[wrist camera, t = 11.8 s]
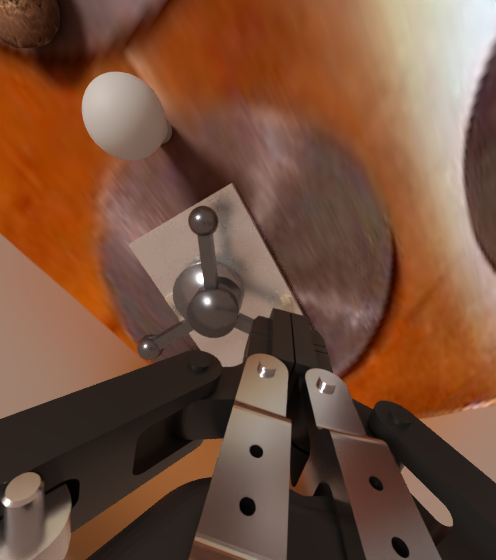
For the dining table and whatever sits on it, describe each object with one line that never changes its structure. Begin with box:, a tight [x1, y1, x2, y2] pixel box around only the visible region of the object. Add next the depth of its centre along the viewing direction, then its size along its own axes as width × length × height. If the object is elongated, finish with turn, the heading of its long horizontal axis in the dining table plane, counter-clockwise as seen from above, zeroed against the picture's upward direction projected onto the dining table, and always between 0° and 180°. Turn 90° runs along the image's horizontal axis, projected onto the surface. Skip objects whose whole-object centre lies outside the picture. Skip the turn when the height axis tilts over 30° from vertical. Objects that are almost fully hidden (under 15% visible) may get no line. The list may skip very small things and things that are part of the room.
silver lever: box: [137, 206, 254, 360], centre depth 31 cm, size 18×16×6 cm
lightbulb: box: [82, 72, 172, 161], centre depth 25 cm, size 6×6×11 cm
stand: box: [128, 182, 312, 367], centre depth 35 cm, size 20×14×2 cm
